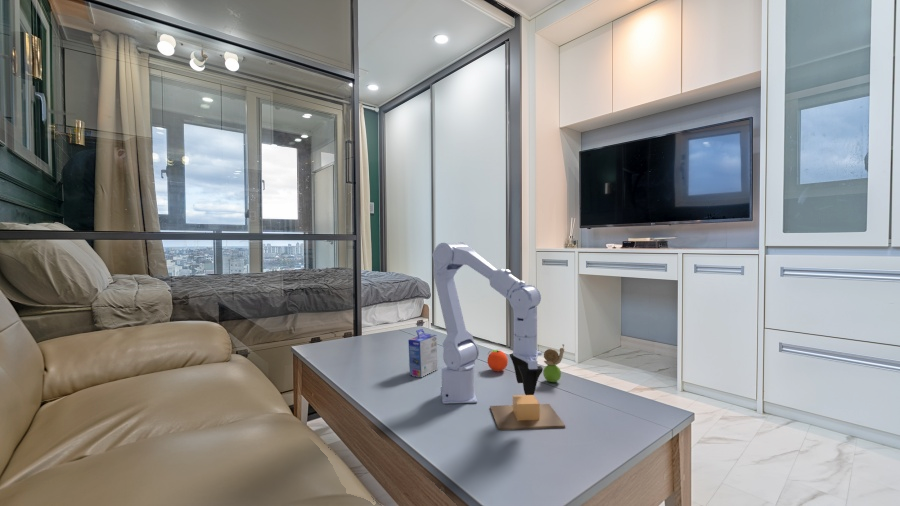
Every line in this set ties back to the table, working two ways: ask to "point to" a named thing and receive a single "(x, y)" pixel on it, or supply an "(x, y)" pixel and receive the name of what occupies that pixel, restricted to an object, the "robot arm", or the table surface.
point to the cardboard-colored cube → (526, 407)
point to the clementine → (497, 360)
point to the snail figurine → (552, 364)
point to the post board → (509, 421)
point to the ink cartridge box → (423, 354)
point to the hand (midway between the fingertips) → (525, 388)
